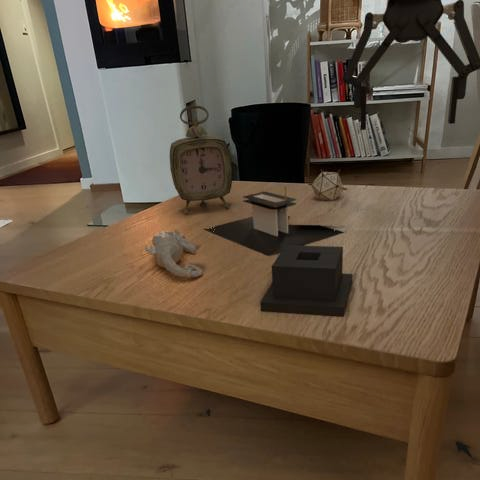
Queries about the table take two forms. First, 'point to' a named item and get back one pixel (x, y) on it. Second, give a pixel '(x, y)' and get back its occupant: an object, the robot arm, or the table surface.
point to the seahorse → (173, 253)
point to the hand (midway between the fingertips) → (406, 126)
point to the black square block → (307, 272)
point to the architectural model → (270, 226)
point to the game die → (327, 185)
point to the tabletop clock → (200, 165)
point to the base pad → (310, 302)
